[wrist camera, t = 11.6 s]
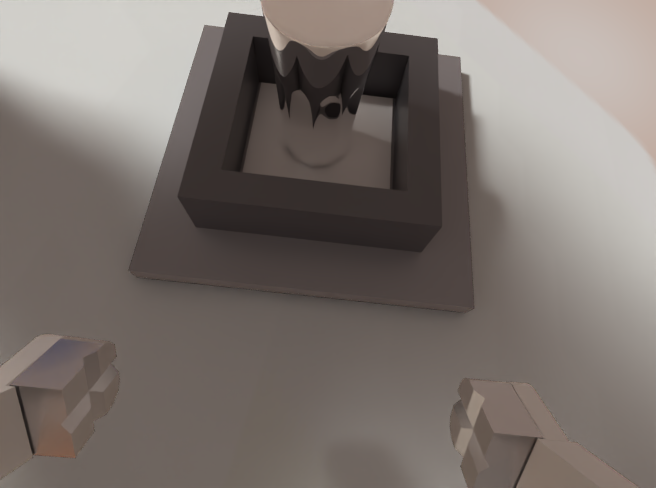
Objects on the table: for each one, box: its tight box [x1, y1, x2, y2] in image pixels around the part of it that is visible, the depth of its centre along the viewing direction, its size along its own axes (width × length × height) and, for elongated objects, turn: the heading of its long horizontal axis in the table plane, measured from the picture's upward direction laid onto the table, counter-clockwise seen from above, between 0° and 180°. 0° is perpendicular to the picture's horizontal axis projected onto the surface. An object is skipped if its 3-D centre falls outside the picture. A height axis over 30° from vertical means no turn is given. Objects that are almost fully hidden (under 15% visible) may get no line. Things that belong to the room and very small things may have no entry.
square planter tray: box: [128, 12, 474, 313], centre depth 20 cm, size 16×16×4 cm
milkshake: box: [260, 0, 394, 167], centre depth 16 cm, size 4×5×10 cm
